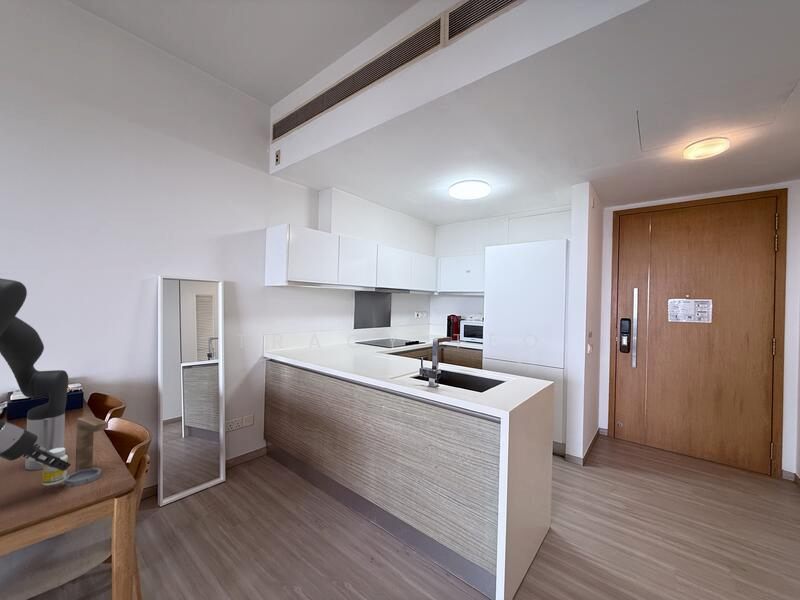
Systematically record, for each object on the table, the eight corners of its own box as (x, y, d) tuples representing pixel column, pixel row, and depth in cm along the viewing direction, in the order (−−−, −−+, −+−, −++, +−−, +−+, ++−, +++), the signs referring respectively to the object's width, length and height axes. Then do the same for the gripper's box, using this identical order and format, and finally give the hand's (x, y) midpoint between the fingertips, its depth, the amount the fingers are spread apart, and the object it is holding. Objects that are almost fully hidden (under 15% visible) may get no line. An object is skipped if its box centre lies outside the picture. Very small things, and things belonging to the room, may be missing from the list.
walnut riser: (92, 480, 107) (94, 425, 107) (75, 470, 113) (77, 418, 113) (106, 475, 110) (108, 422, 110) (88, 466, 116) (90, 415, 116)
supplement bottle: (57, 485, 100) (59, 453, 100) (36, 486, 98) (38, 454, 99) (71, 476, 105) (73, 446, 105) (51, 477, 104) (53, 446, 104)
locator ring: (69, 476, 109) (69, 472, 109) (102, 470, 113) (103, 465, 113) (61, 488, 102) (61, 484, 102) (97, 481, 106) (97, 476, 106)
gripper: (31, 433, 92) (85, 458, 103) (13, 423, 99) (65, 448, 109) (1, 460, 87) (61, 483, 98) (-16, 447, 94) (42, 471, 104)
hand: (63, 465), depth 103 cm, fingers closed on supplement bottle, 5 cm apart
